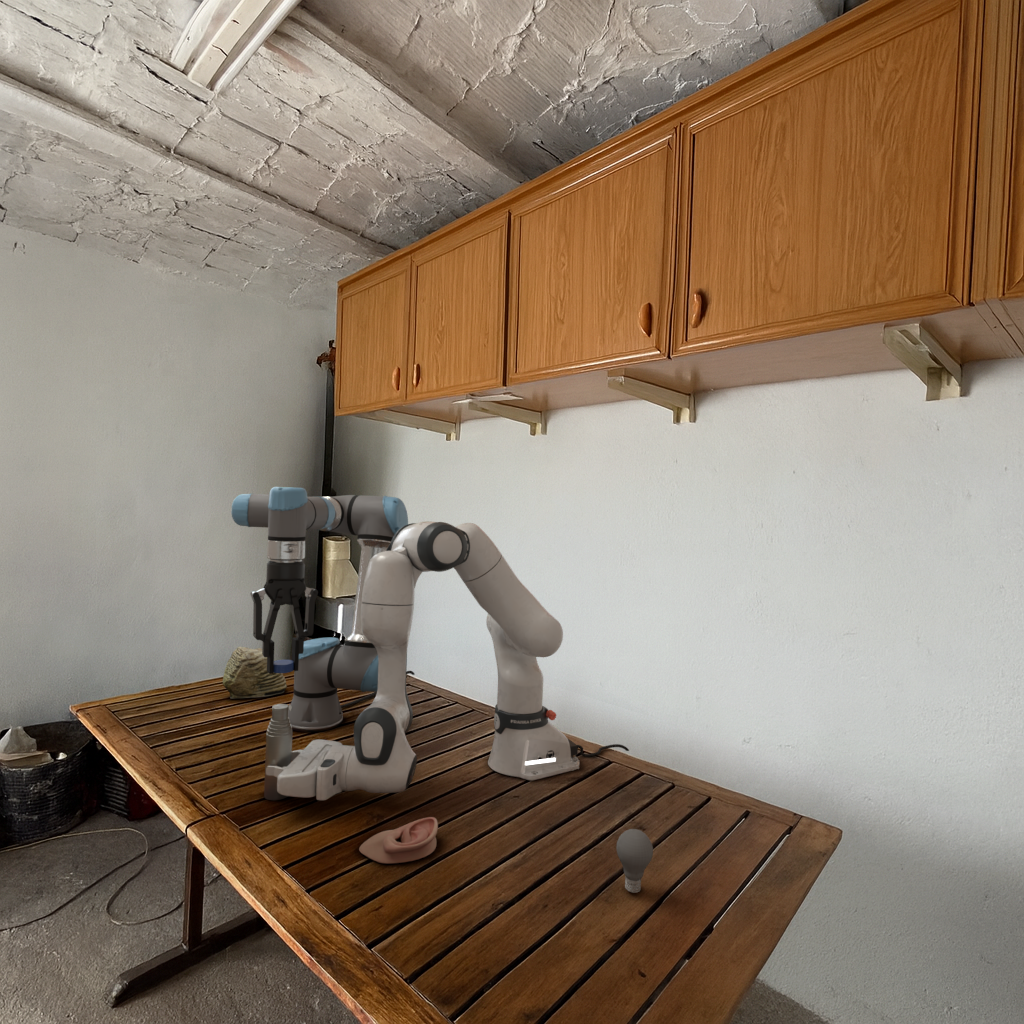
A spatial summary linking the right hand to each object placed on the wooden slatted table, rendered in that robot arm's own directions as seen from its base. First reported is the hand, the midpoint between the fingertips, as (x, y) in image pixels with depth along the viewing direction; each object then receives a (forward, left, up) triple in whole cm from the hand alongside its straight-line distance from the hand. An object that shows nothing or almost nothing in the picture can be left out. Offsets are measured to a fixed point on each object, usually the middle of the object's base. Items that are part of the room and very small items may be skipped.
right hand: (274, 762), depth 134 cm
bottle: (-1, 0, -7) cm, 7 cm away
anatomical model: (-21, +28, -7) cm, 36 cm away
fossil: (+4, -71, -7) cm, 71 cm away
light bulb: (-55, +53, -7) cm, 76 cm away
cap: (-1, 0, +21) cm, 21 cm away
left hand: (-1, 0, +20) cm, 20 cm away
